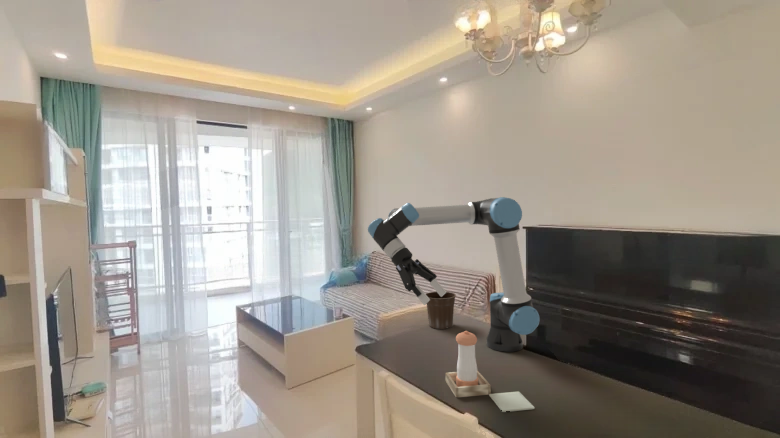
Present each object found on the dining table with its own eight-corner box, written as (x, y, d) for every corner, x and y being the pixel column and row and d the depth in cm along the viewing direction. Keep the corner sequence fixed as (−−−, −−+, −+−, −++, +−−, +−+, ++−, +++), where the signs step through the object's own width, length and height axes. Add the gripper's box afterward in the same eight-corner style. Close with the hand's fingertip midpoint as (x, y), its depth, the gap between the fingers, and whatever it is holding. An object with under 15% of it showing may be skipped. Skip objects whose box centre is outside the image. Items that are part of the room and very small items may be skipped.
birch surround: (477, 378, 132) (477, 370, 132) (490, 394, 121) (490, 385, 121) (445, 381, 131) (445, 372, 131) (456, 397, 119) (455, 388, 119)
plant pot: (423, 330, 187) (422, 298, 186) (425, 320, 202) (425, 291, 202) (456, 331, 184) (456, 298, 183) (456, 321, 200) (455, 291, 199)
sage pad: (518, 392, 121) (518, 391, 121) (534, 409, 111) (534, 407, 111) (489, 395, 120) (489, 394, 120) (502, 412, 110) (502, 410, 110)
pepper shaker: (460, 380, 131) (459, 326, 130) (481, 385, 127) (480, 329, 127) (453, 389, 124) (452, 332, 124) (474, 394, 121) (473, 335, 120)
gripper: (408, 256, 150) (443, 297, 143) (373, 264, 129) (412, 313, 122) (420, 243, 147) (456, 285, 140) (386, 249, 126) (426, 299, 119)
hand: (436, 298), depth 131 cm, fingers open, 13 cm apart
